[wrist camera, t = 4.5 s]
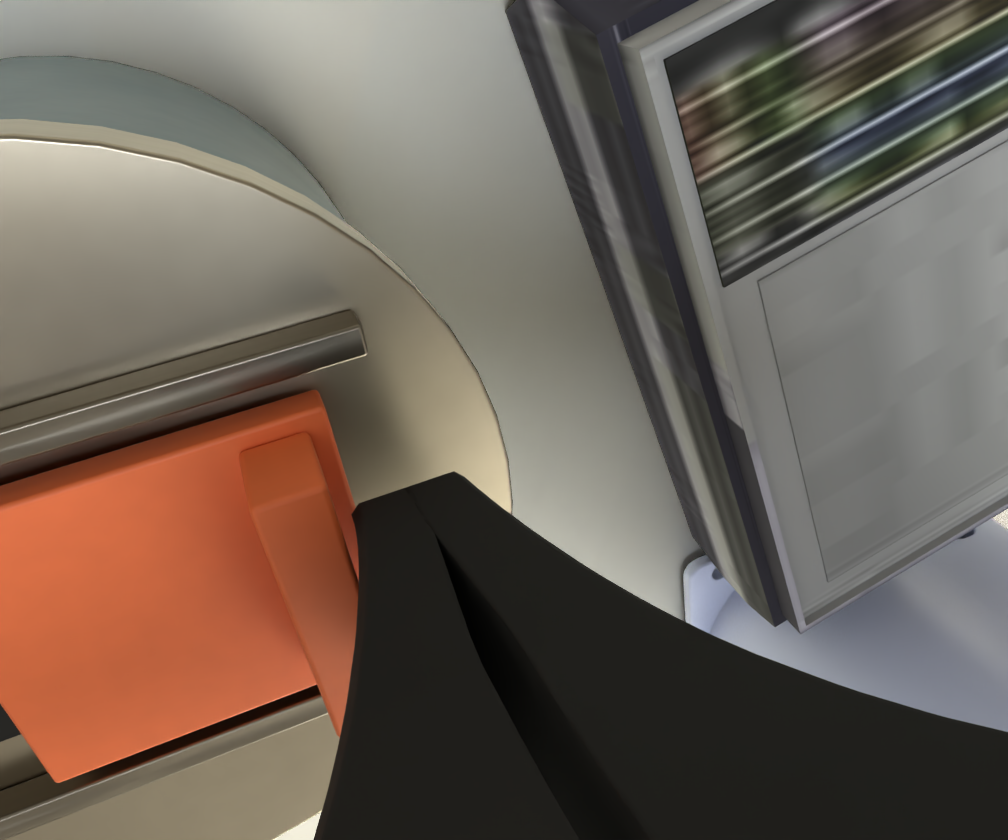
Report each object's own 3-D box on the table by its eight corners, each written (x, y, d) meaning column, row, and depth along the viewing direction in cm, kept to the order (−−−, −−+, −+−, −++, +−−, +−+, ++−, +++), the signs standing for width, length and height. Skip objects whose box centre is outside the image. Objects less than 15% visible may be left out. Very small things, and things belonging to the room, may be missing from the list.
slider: (316, 386, 10) (347, 461, 9) (392, 630, 12) (424, 720, 11) (-105, 515, 9) (-147, 622, 8) (57, 754, 11) (48, 873, 10)
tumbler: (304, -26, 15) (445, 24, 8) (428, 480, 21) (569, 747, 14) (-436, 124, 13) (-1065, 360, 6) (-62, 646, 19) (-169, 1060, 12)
